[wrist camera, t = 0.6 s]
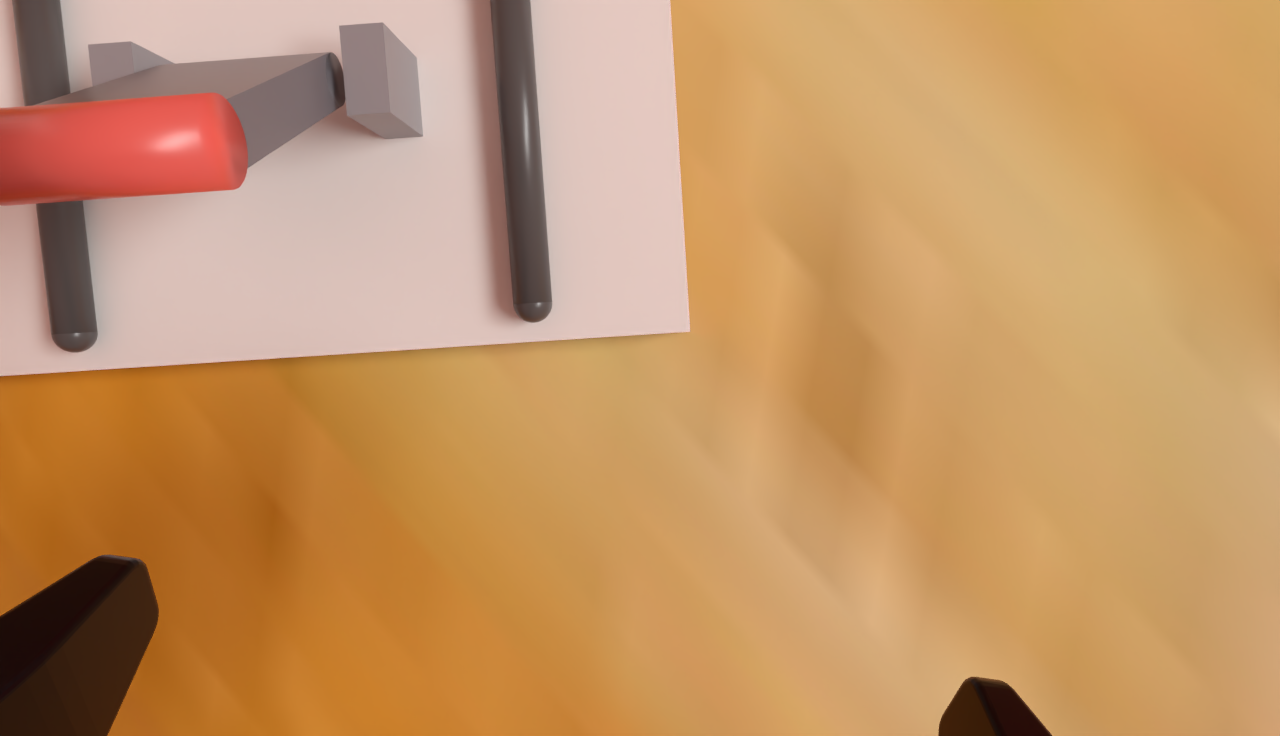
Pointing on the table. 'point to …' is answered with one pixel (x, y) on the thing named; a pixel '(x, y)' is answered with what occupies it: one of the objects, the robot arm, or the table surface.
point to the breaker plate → (363, 186)
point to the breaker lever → (164, 129)
